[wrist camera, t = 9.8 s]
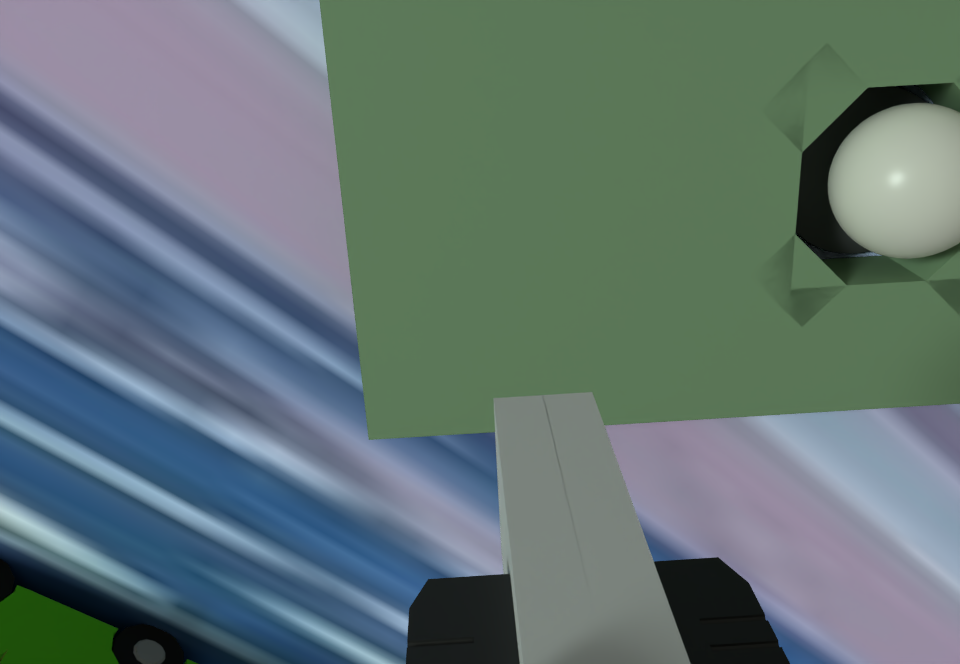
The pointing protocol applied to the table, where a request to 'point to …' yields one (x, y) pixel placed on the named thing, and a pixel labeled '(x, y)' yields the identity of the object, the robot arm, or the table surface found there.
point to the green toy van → (72, 633)
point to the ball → (900, 181)
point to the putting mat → (629, 207)
